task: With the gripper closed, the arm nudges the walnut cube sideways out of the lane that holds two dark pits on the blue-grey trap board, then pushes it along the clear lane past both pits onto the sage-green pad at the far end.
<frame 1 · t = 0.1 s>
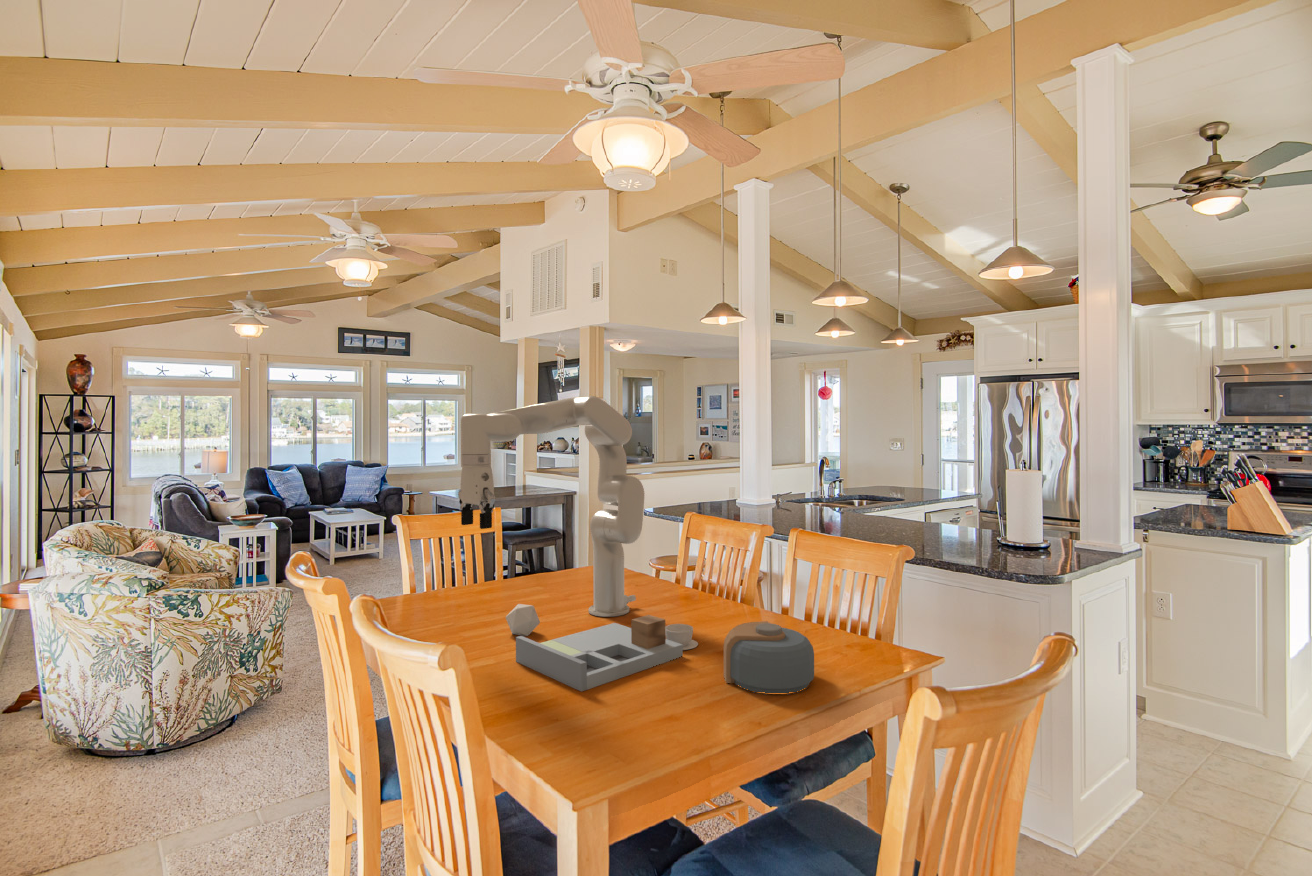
hand: (476, 526, 174), 31 cm above the table, tool pointing down, fingers open, 9 cm apart
teacup: (679, 646, 174), on the table
walnut block: (648, 643, 166), point 3 cm above the table, touching trap board
die: (522, 634, 184), on the table
trap board: (602, 658, 164), on the table
grey knobbed dome: (768, 680, 150), on the table
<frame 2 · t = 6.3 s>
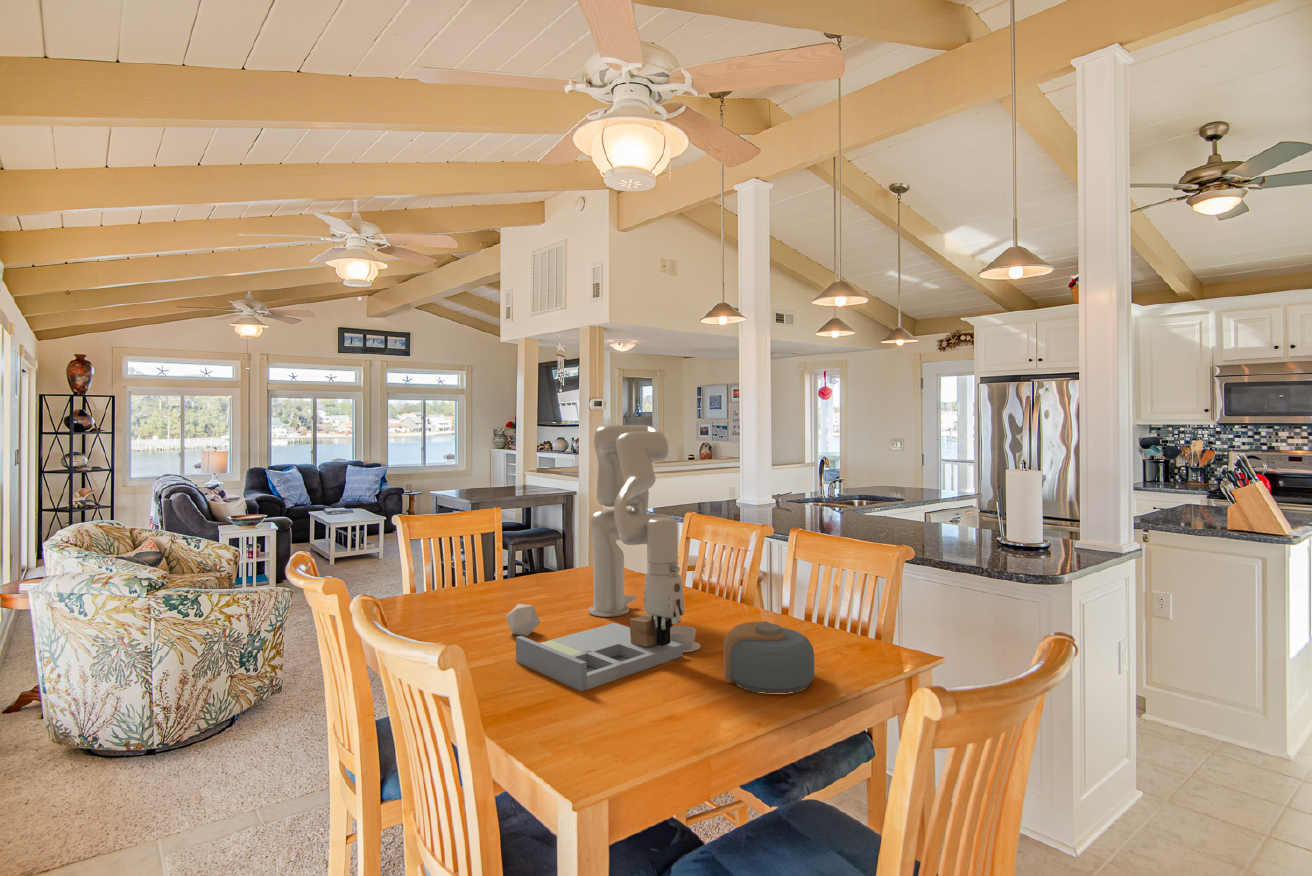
hand: (663, 644, 162), 4 cm above the table, tool pointing down, fingers closed
teacup: (681, 648, 172), on the table
walnut block: (647, 642, 166), point 3 cm above the table, touching gripper, trap board
everything else where it was.
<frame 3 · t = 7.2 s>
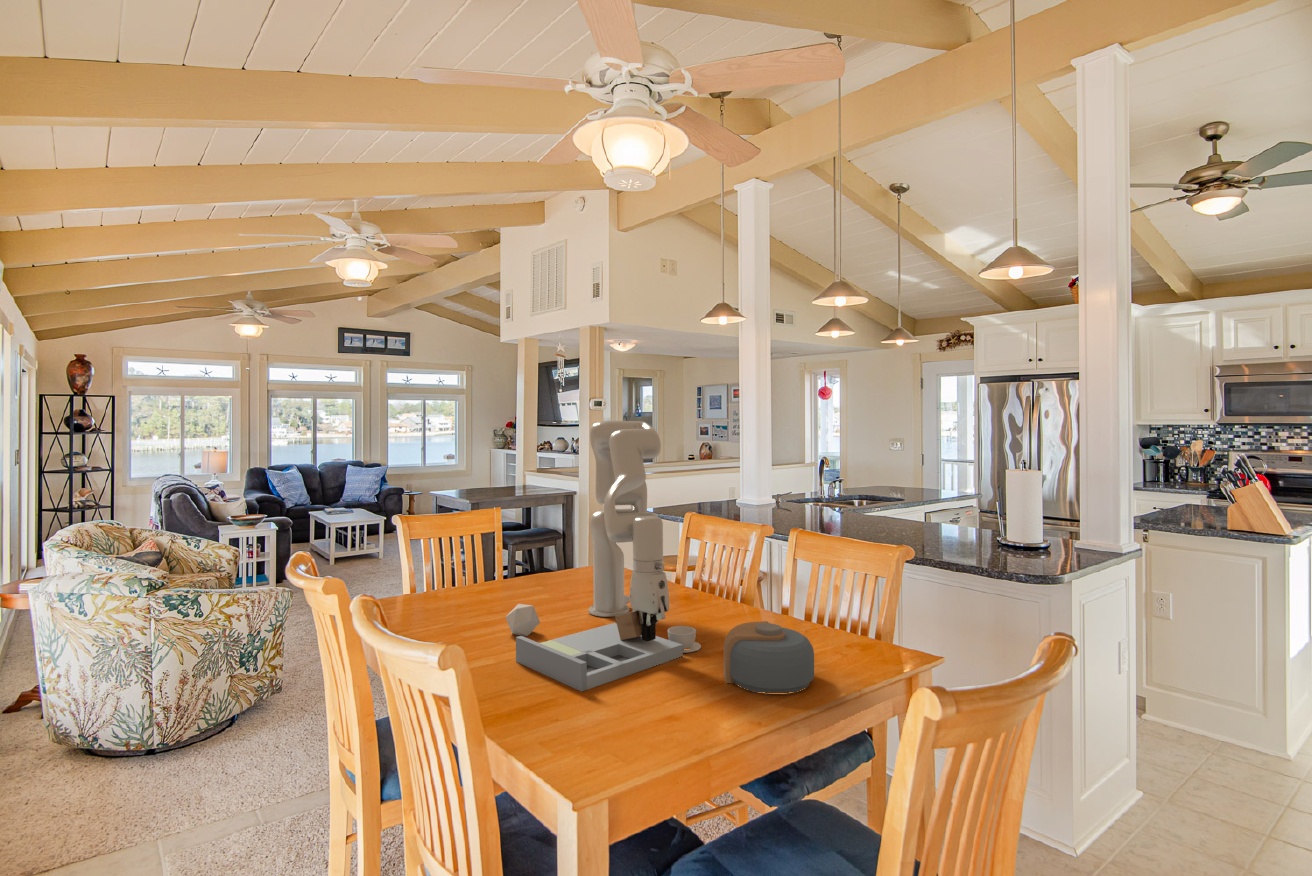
hand: (648, 639, 165), 4 cm above the table, tool pointing down, fingers closed
walnut block: (636, 635, 169), point 4 cm above the table, tilted 20°, touching gripper
everything else where it was.
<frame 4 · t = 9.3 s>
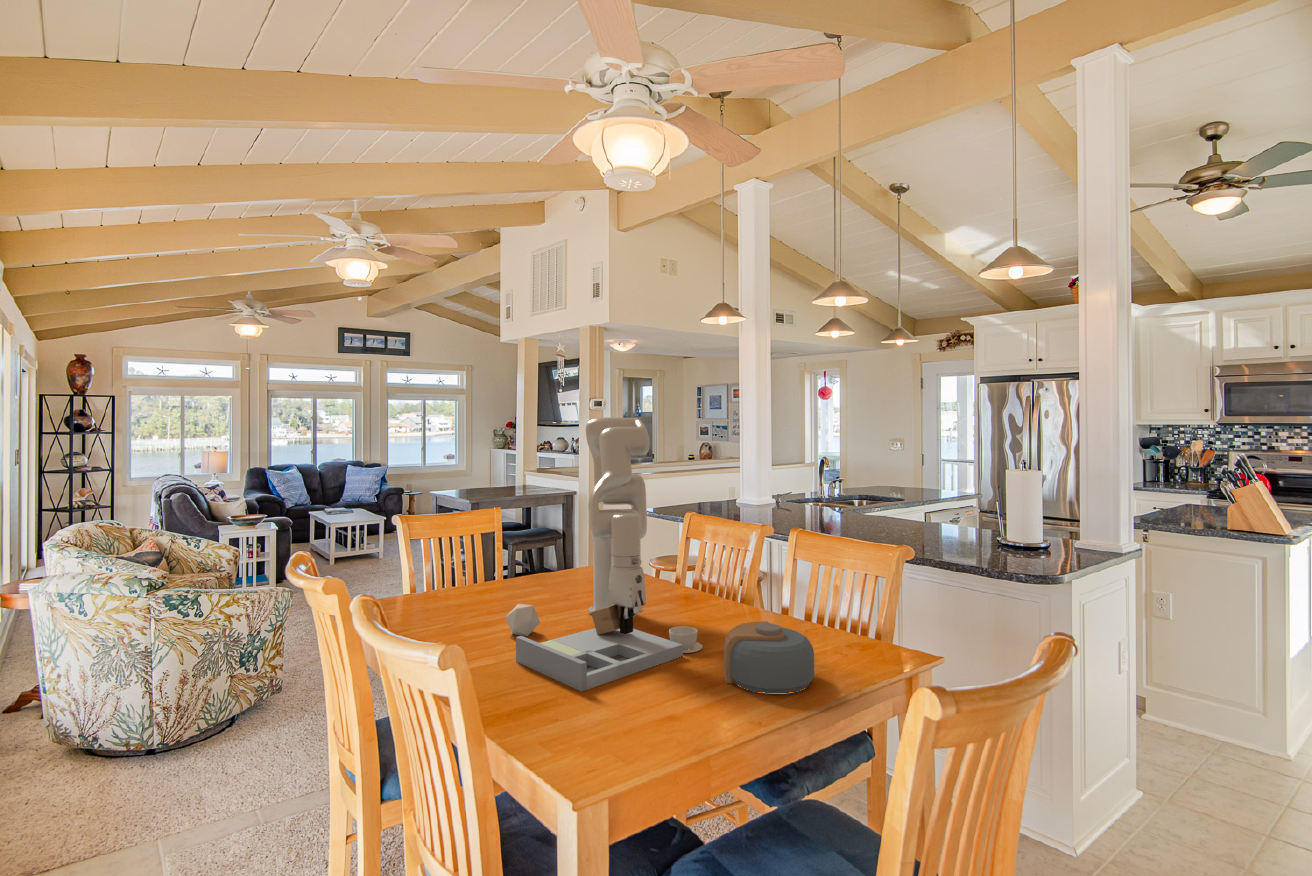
hand: (626, 632, 171), 4 cm above the table, tool pointing down, fingers closed
walnut block: (612, 629, 174), point 4 cm above the table, tilted 20°, touching gripper, trap board
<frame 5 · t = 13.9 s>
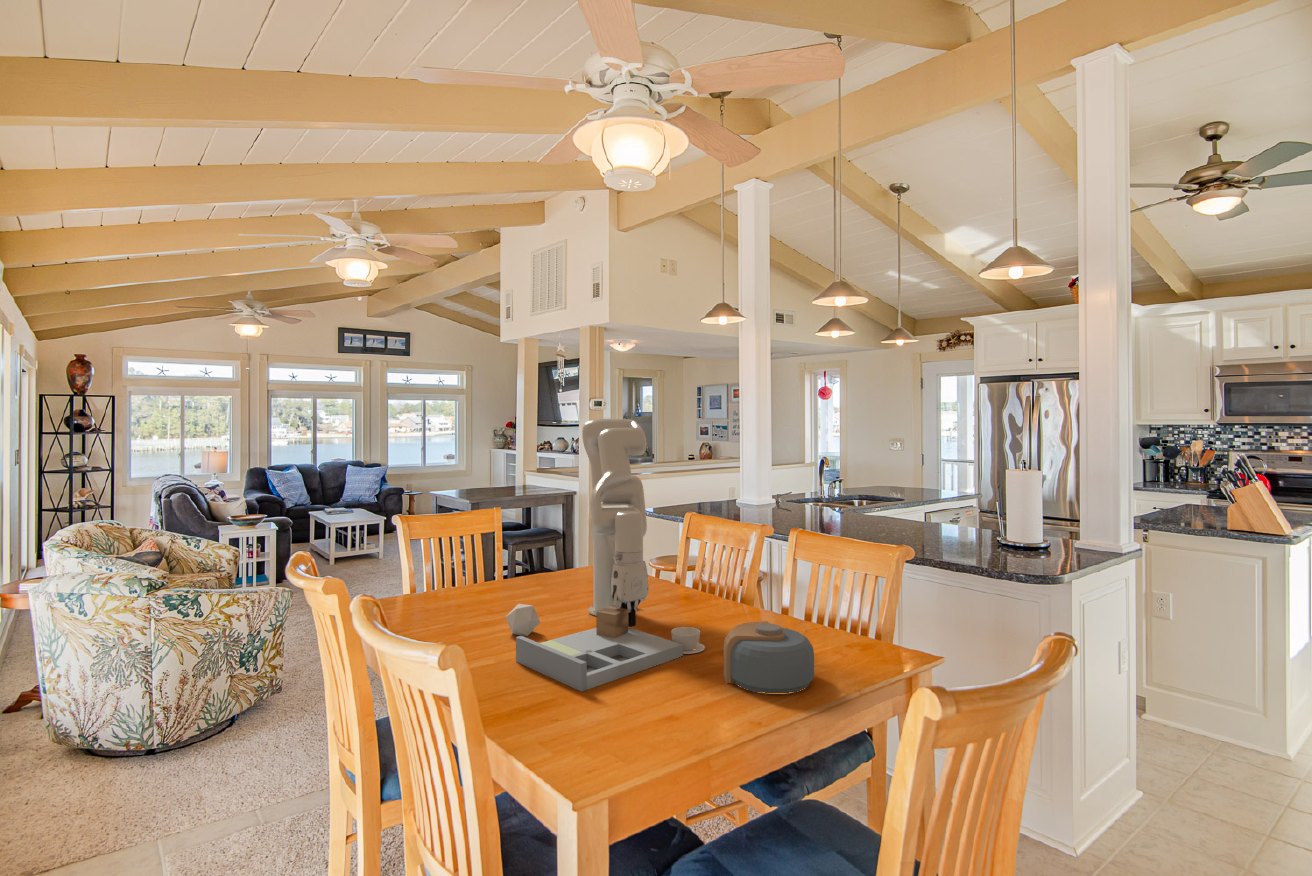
hand: (629, 625, 179), 4 cm above the table, tool pointing down, fingers closed
walnut block: (612, 633, 174), point 3 cm above the table, touching gripper, trap board
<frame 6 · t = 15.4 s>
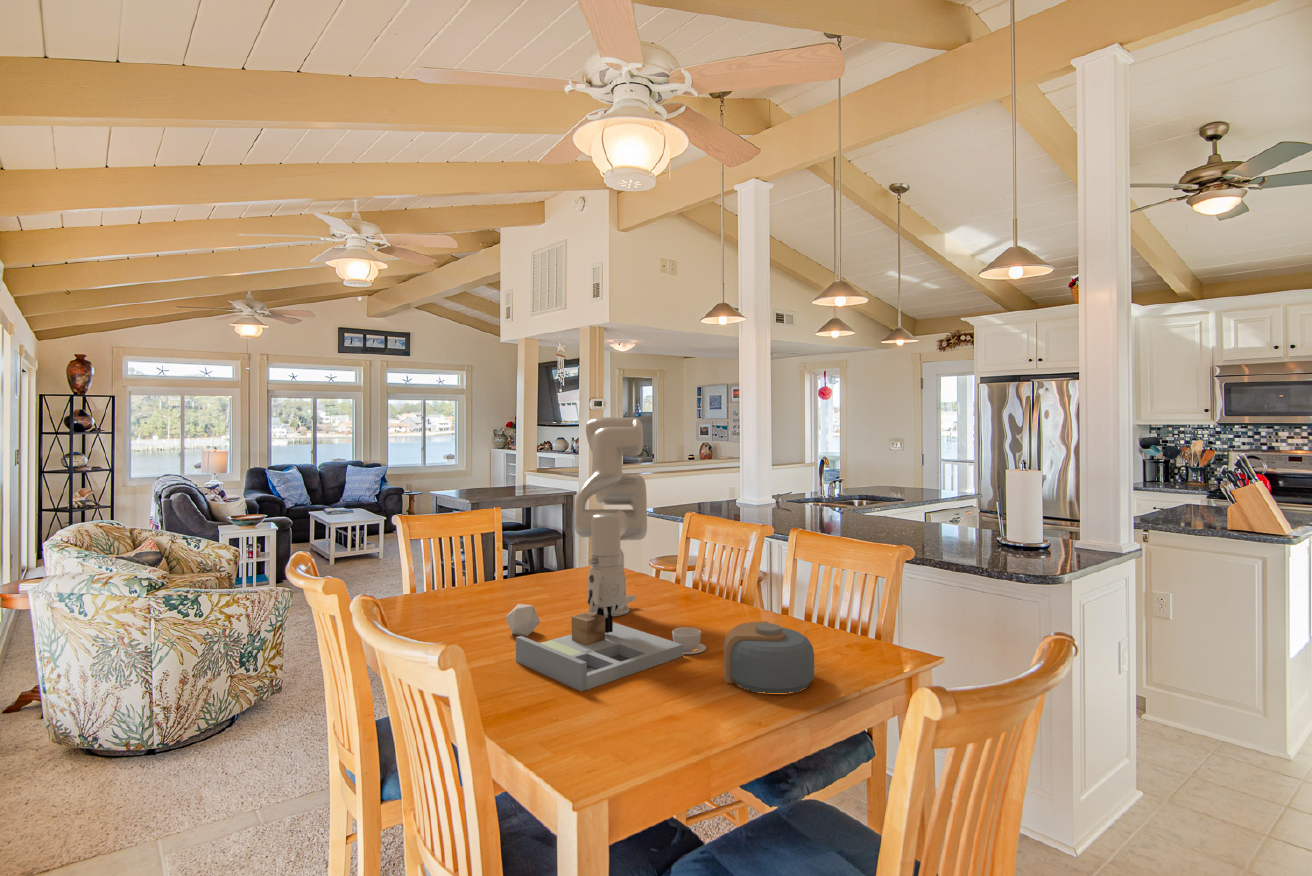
hand: (606, 631, 173), 4 cm above the table, tool pointing down, fingers closed
walnut block: (588, 640, 169), point 3 cm above the table, touching gripper, trap board
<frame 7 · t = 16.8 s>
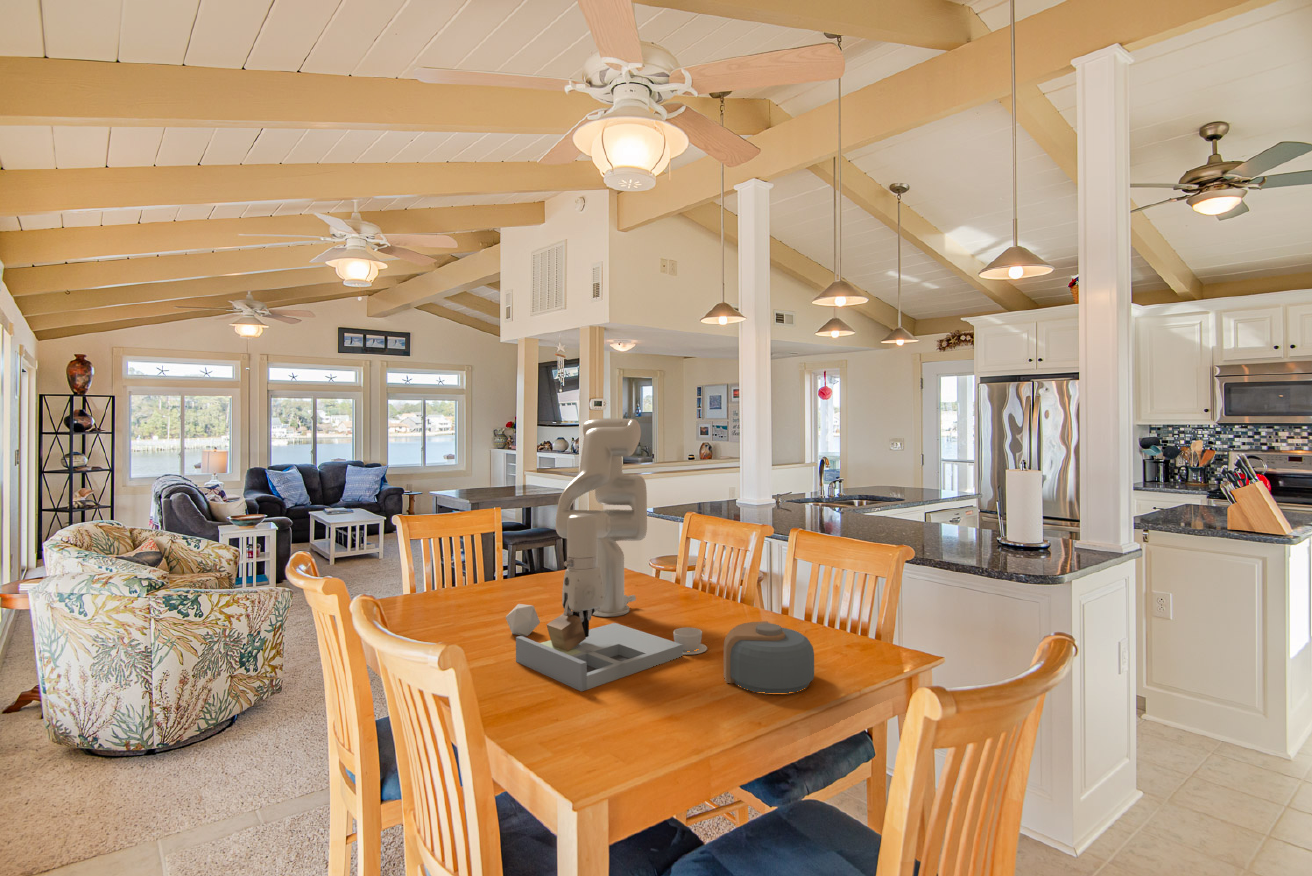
hand: (582, 636, 167), 5 cm above the table, tool pointing down, fingers closed
walnut block: (569, 642, 164), point 4 cm above the table, tilted 18°, touching gripper
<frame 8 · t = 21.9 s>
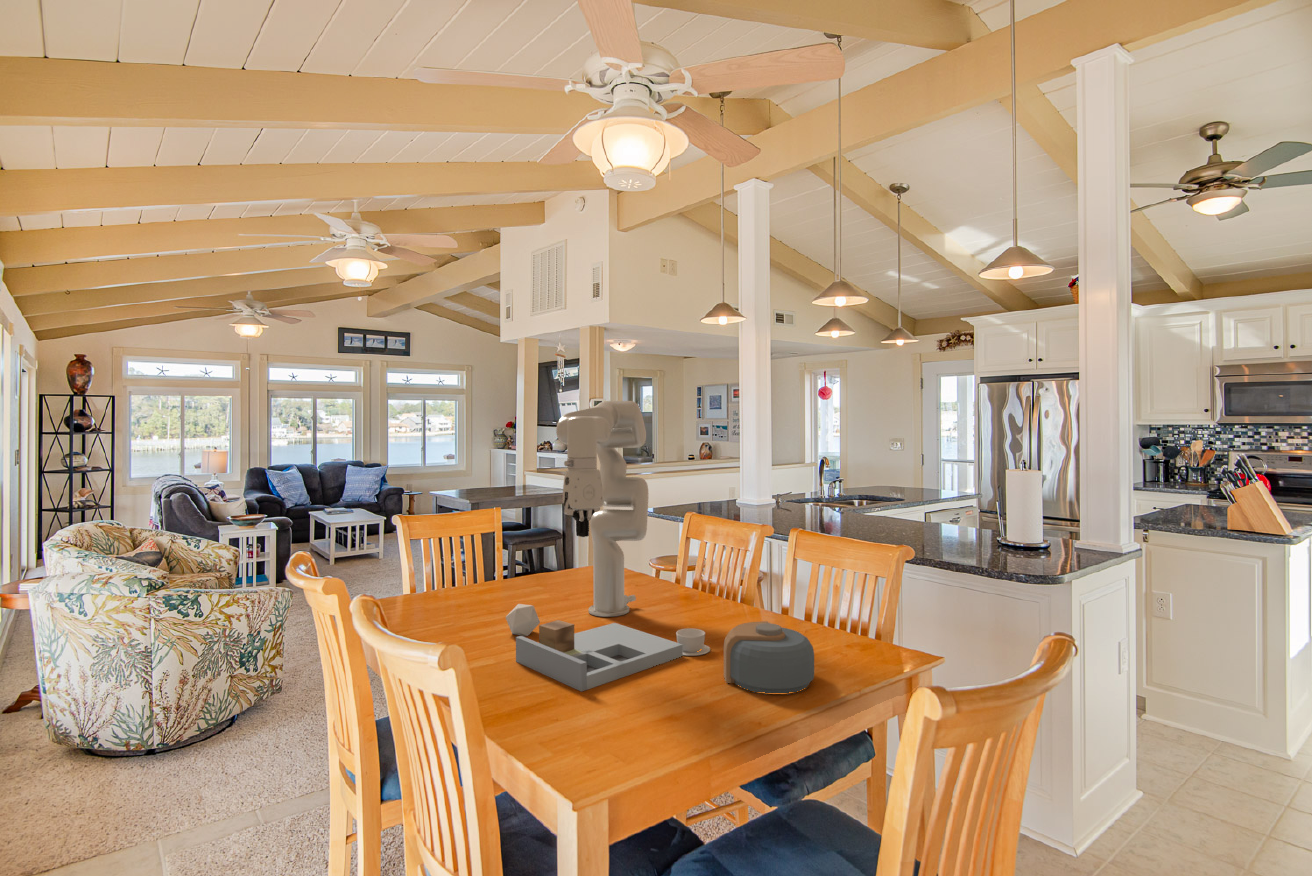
hand: (582, 535, 171), 29 cm above the table, tool pointing down, fingers closed
teacup: (690, 651, 170), on the table
walnut block: (556, 649, 162), point 3 cm above the table, touching trap board
everything else where it was.
at the end: walnut block inside the target area on the trap board (0.6 cm from its centre), point 2.9 cm above the trap board's base; walnut block tilted 0° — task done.
